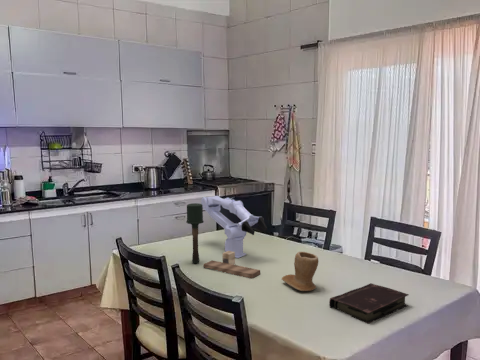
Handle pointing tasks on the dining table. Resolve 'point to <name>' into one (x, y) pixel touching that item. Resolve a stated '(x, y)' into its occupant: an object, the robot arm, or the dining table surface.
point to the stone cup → (303, 272)
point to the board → (232, 269)
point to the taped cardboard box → (229, 257)
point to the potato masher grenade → (195, 226)
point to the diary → (369, 302)
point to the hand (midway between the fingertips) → (260, 231)
